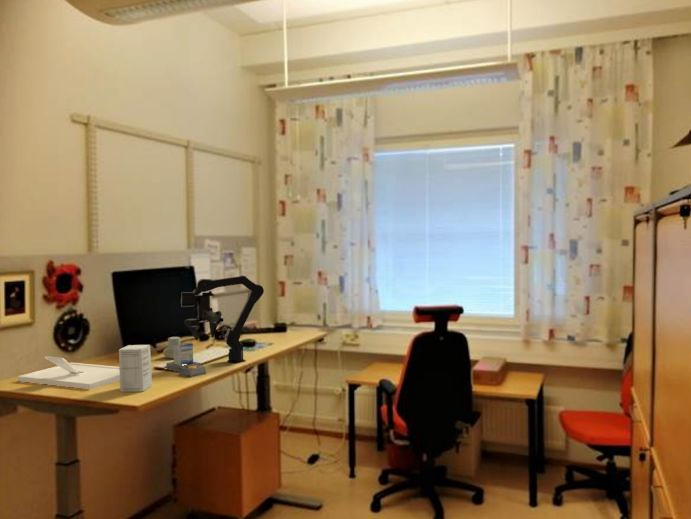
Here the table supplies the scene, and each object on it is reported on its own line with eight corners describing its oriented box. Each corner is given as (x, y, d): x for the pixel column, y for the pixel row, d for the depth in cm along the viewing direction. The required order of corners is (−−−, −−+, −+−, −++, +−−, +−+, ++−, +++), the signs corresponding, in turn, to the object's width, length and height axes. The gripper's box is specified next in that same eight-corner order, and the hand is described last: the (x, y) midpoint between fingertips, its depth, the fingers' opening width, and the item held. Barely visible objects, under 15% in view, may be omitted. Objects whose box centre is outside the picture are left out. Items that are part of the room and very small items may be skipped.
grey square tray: (184, 363, 271) (184, 358, 271) (203, 367, 263) (203, 362, 263) (163, 368, 262) (162, 363, 262) (182, 372, 253) (181, 367, 253)
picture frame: (90, 391, 227) (139, 375, 252) (89, 360, 226) (138, 347, 252) (17, 383, 242) (71, 368, 267) (16, 354, 241) (70, 342, 267)
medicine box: (180, 365, 258) (179, 346, 257) (173, 364, 260) (173, 345, 260) (193, 361, 264) (193, 343, 264) (186, 360, 267) (186, 342, 266)
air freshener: (161, 359, 281) (160, 339, 281) (166, 356, 290) (165, 336, 289) (183, 359, 282) (183, 339, 281) (187, 355, 290) (187, 336, 290)
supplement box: (152, 385, 232) (151, 344, 231) (143, 391, 223) (142, 349, 222) (129, 385, 232) (128, 344, 232) (119, 392, 223) (118, 349, 222)
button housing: (194, 371, 256) (193, 364, 256) (205, 373, 251) (205, 366, 251) (179, 374, 250) (178, 367, 250) (190, 377, 245) (190, 370, 245)
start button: (193, 369, 253) (193, 365, 253) (198, 370, 251) (198, 366, 251) (186, 371, 250) (186, 366, 250) (191, 372, 248) (191, 368, 248)
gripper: (198, 309, 256) (199, 343, 257) (230, 304, 271) (231, 337, 272) (183, 307, 263) (184, 341, 264) (215, 303, 278) (216, 335, 279)
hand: (204, 338), depth 269 cm, fingers open, 9 cm apart
